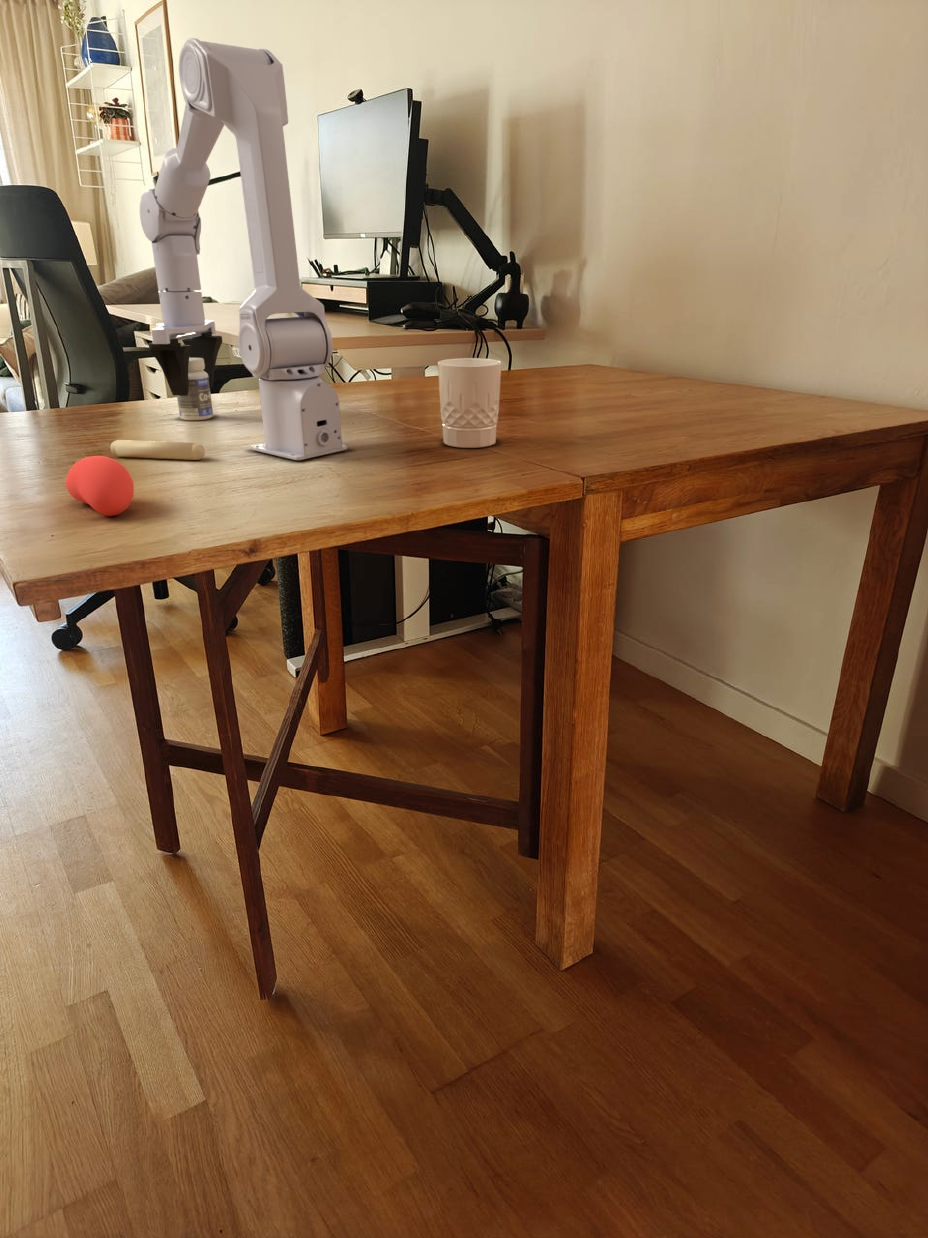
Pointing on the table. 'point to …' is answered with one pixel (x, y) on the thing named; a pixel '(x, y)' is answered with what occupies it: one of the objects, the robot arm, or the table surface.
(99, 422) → the table surface
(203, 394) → the pill bottle
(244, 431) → the table surface
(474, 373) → the white cup
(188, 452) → the dowel
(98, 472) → the stress ball
